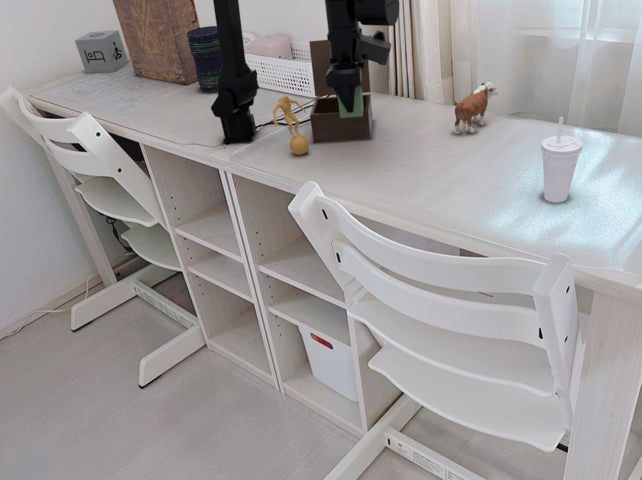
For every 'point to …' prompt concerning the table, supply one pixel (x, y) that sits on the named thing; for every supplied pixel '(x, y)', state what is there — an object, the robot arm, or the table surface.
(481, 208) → the table surface
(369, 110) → the box
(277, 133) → the table surface
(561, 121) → the smoothie
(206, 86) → the storage jar
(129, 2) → the book
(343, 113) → the block
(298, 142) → the figurine
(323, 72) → the lid
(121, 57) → the icon cube
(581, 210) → the table surface
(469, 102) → the bull figurine
